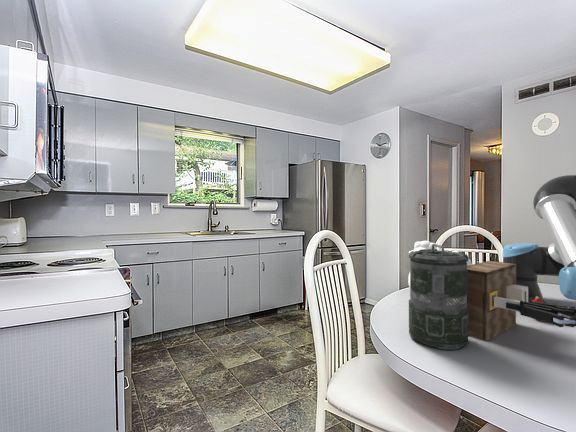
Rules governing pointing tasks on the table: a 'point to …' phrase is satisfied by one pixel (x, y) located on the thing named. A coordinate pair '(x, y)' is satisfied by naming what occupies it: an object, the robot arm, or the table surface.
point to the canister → (438, 298)
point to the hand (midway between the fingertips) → (495, 301)
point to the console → (478, 298)
